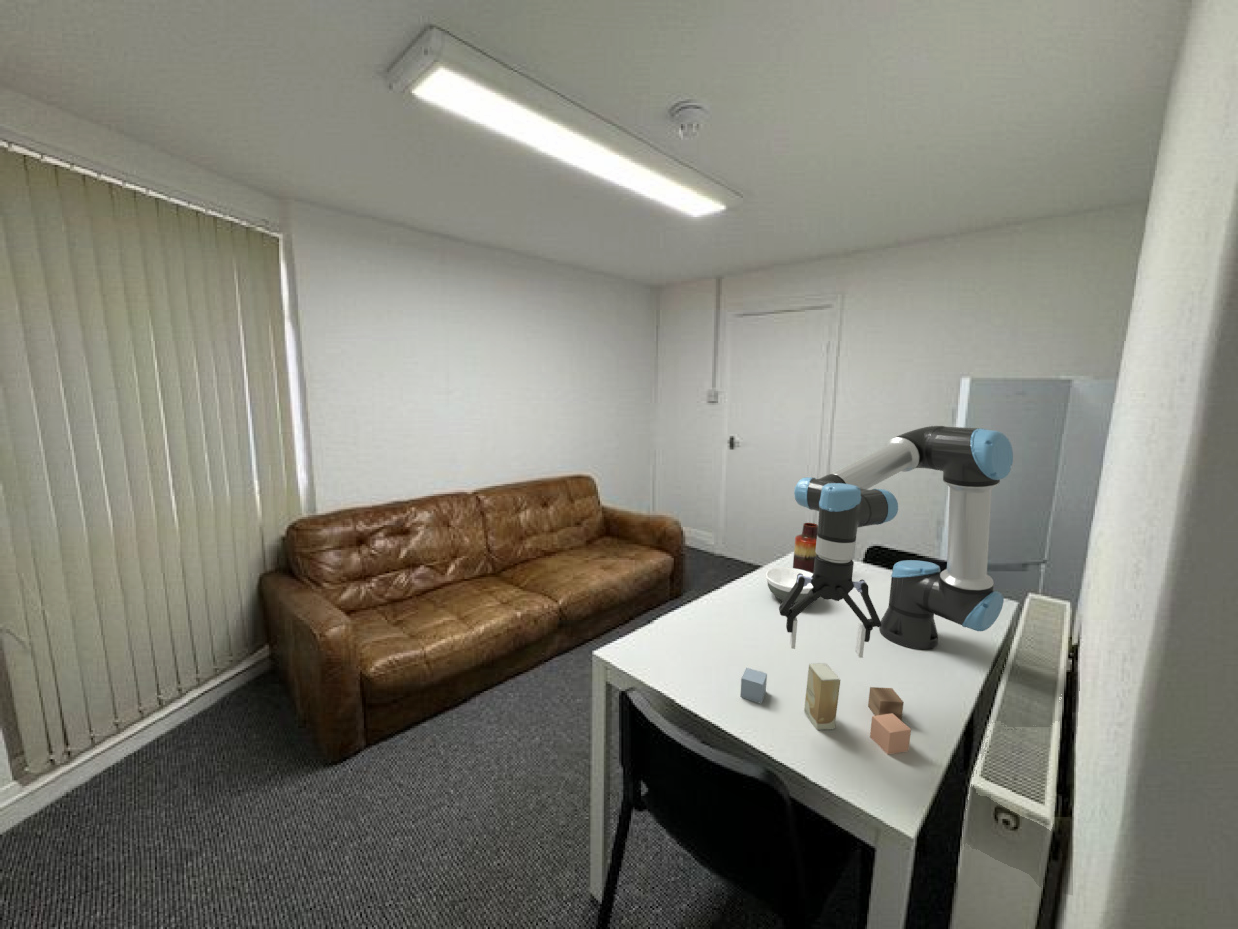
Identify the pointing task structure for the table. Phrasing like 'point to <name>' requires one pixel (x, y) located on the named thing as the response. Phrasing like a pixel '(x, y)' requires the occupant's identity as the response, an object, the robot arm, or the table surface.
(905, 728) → the terracotta cube
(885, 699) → the walnut cube
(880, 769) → the table surface
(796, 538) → the vase
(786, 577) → the bowl
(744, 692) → the slate cube
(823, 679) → the skincare box
